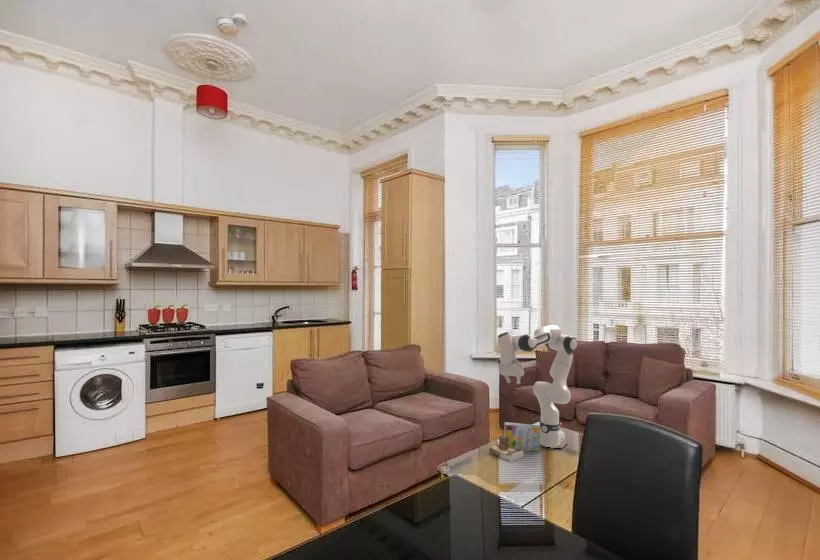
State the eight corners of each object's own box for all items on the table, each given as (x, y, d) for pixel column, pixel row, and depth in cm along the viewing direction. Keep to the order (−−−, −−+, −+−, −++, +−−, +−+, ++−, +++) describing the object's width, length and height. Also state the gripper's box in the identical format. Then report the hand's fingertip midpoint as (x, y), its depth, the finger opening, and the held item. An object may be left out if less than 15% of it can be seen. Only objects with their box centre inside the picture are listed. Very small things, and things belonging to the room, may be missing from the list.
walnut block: (502, 446, 249) (503, 435, 249) (508, 448, 246) (508, 437, 246) (498, 448, 246) (499, 436, 246) (504, 450, 243) (504, 438, 243)
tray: (511, 452, 248) (512, 445, 248) (523, 457, 242) (523, 450, 242) (499, 456, 240) (500, 450, 240) (511, 461, 234) (511, 454, 234)
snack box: (537, 448, 257) (538, 424, 257) (539, 452, 251) (540, 427, 251) (503, 445, 259) (504, 421, 259) (504, 449, 253) (505, 424, 253)
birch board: (501, 448, 254) (501, 443, 254) (516, 454, 246) (516, 449, 246) (489, 452, 246) (489, 447, 246) (504, 458, 238) (504, 453, 238)
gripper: (523, 358, 238) (529, 382, 236) (503, 358, 257) (508, 381, 255) (515, 361, 235) (520, 385, 234) (495, 360, 254) (499, 383, 253)
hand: (513, 383), depth 245 cm, fingers open, 8 cm apart
